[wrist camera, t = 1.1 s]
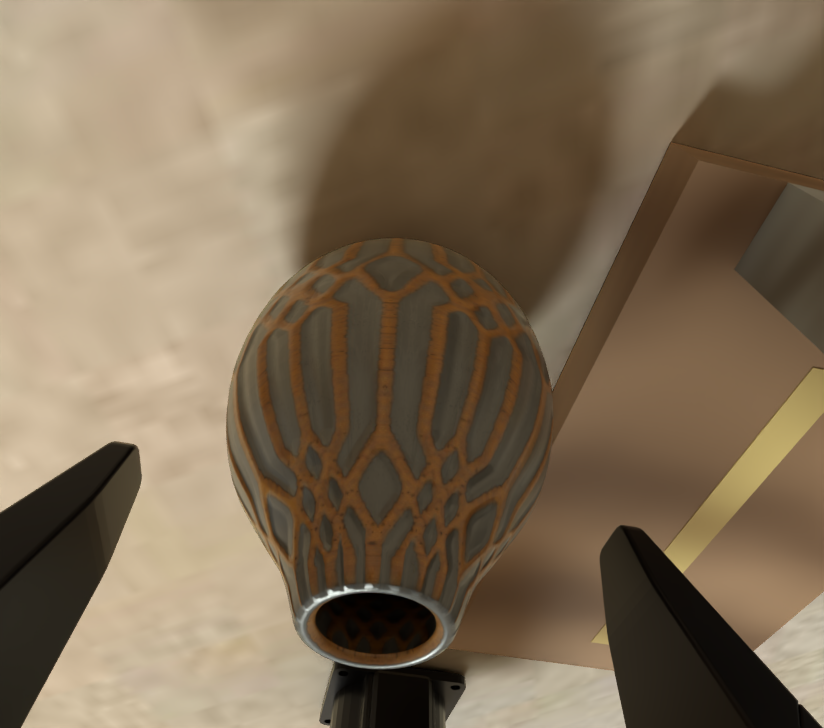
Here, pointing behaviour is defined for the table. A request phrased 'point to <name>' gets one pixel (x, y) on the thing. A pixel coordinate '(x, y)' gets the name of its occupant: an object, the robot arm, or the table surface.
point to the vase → (388, 443)
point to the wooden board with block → (683, 419)
